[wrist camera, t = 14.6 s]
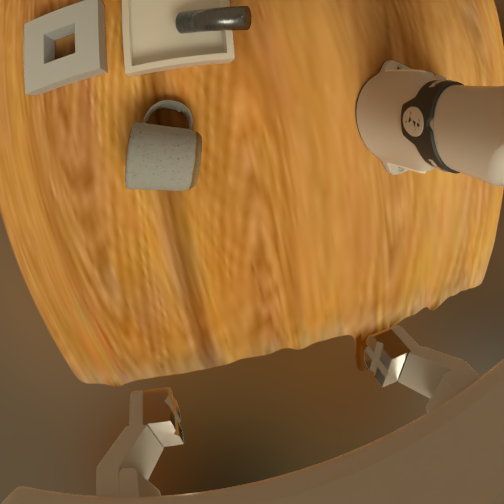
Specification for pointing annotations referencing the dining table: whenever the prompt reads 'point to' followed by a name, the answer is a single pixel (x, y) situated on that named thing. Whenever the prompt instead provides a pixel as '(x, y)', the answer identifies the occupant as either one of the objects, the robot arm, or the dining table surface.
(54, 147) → the dining table surface
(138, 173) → the ceramic mug
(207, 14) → the pin
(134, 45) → the tray
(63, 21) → the grey square socket block
